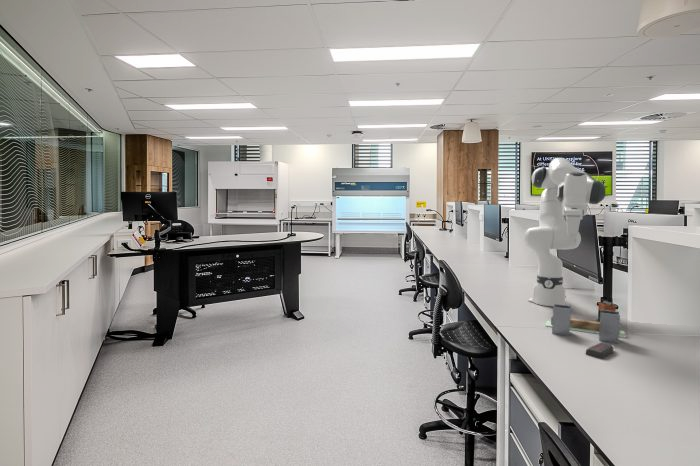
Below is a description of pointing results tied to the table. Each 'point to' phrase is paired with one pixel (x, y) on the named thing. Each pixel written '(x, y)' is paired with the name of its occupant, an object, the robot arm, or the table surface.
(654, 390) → the table surface
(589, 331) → the mat
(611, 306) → the battery
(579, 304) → the table surface
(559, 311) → the stand
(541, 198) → the robot arm
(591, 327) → the rail
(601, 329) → the stand
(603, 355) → the usb drive
